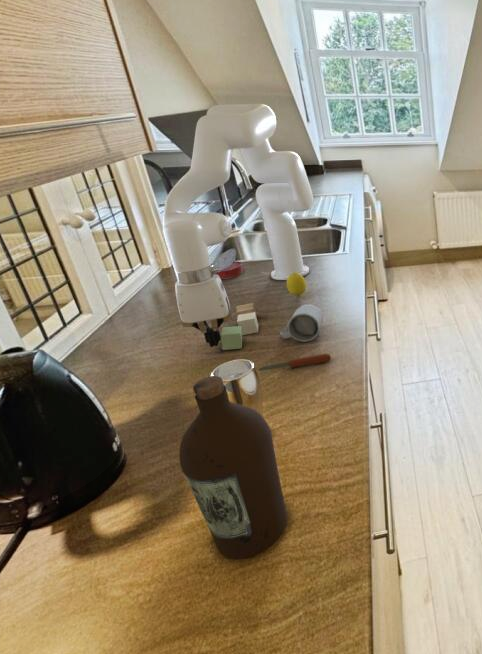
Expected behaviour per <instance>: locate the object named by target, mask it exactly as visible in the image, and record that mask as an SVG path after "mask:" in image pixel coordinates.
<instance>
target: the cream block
mask: <svg viewBox="0 0 482 654" xmlns="http://www.w3.org/2000/svg"><path fill="white" fill-rule="evenodd" d="M255 312H256V311H255ZM255 312H252V313H247V314H241V315H238V316H237V318H236V319H237V320H236V323H237V324H236V325H237V326H241V329H242V336H247V335H252V334H257V333H259V322H258V318H257V313H255Z"/></svg>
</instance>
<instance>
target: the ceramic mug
mask: <svg viewBox="0 0 482 654" xmlns="http://www.w3.org/2000/svg"><path fill="white" fill-rule="evenodd" d="M323 320H324V316H323V312H322V310H321V309H320V307H318V306H317V305H314V304H310V303H308V304H303V305H301V306H299V307H298V308H297V309H296V310H295V311H294V313H293V315H292V316H291V317H290V319H289V320H288V322H287V325H286V326H285V327H284V328H282V330H281V331H280V333H279V335H280V336H281V337H282V339H284V340H285V339H288V338H292V339H294V340H295V341H298V342H303V343H305V342H311V341H313V340H315V339H316V338H317V337H318V336H319V333H320V330H321V327H322V324H323Z"/></svg>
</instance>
